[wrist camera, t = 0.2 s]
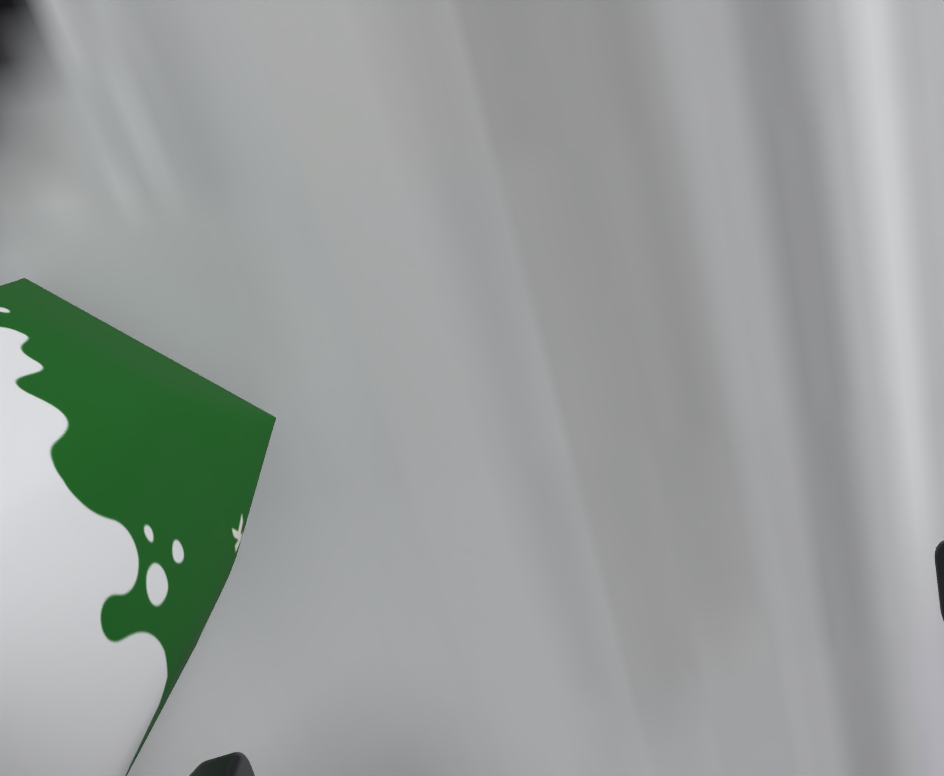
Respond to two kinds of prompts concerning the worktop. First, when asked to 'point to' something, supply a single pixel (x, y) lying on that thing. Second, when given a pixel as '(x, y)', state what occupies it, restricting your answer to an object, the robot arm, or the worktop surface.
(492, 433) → the worktop surface
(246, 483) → the milk carton
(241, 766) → the robot arm
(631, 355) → the worktop surface
